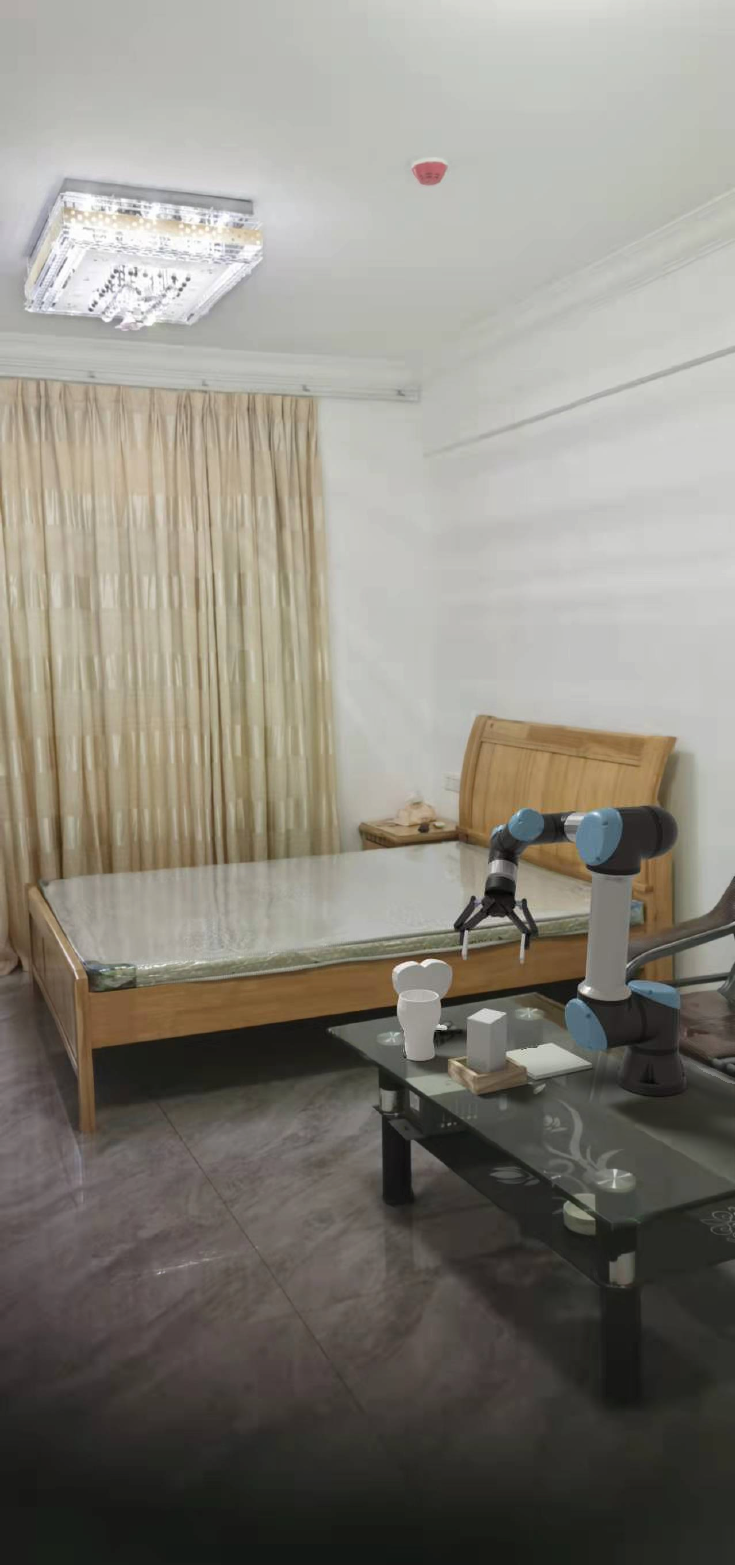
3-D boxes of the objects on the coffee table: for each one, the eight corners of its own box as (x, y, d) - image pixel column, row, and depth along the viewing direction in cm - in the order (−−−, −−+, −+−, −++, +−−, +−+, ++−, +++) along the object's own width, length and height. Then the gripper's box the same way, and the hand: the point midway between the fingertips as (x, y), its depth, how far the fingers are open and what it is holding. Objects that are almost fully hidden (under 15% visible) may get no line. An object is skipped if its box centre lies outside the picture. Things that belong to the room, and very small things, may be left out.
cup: (437, 1064, 278) (437, 1003, 276) (393, 1061, 280) (393, 1001, 278) (443, 1049, 288) (443, 990, 287) (401, 1046, 291) (401, 987, 289)
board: (591, 1067, 276) (591, 1063, 276) (535, 1079, 269) (535, 1075, 268) (551, 1046, 290) (551, 1042, 290) (497, 1057, 283) (497, 1053, 283)
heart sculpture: (445, 1022, 308) (445, 956, 306) (453, 1028, 303) (453, 961, 301) (390, 1030, 303) (390, 962, 300) (398, 1036, 298) (398, 967, 296)
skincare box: (483, 1071, 274) (484, 1007, 272) (508, 1077, 270) (509, 1012, 268) (465, 1082, 267) (465, 1016, 265) (490, 1089, 263) (490, 1022, 261)
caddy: (526, 1084, 266) (526, 1067, 266) (476, 1094, 260) (476, 1077, 260) (496, 1066, 277) (496, 1050, 276) (447, 1076, 271) (447, 1059, 270)
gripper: (552, 893, 289) (546, 970, 276) (452, 888, 294) (442, 963, 282) (551, 877, 283) (545, 954, 270) (449, 872, 288) (438, 947, 276)
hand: (492, 959), depth 276 cm, fingers open, 13 cm apart
